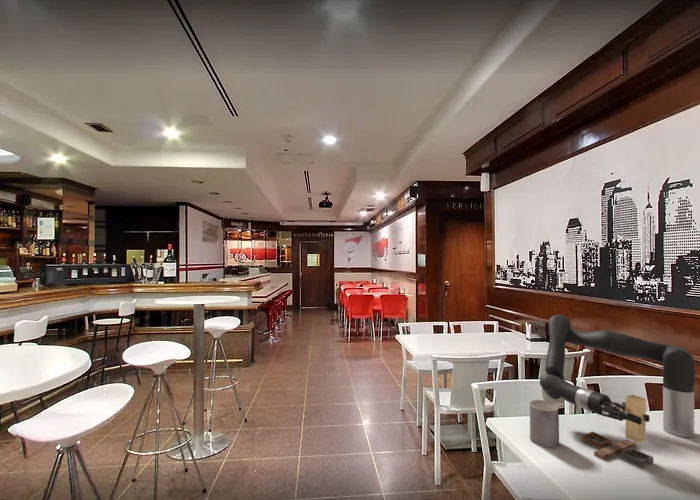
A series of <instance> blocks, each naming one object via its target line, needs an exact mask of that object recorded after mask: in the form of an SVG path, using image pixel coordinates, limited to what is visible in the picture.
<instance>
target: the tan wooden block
mask: <svg viewBox="0 0 700 500" xmlns="http://www.w3.org/2000/svg"><path fill="white" fill-rule="evenodd" d="M646 402H647V399H646V398H643V397H641V396H638V395H634V394H631V395H628V396H625V403H626V411H625V412H627V413H628V414H632V415H635V416H638V417H641V418H642V424H637V423H634V422H631V421H629V420H628V421H626V420H625V438H626V439H628V440H631V441H633V442H635V443H642V442H644V441H646V423H647V422H646V421H645V420H646V414H647V413H646V409H647V407H646V406H647V403H646Z"/></svg>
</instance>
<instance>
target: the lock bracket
mask: <svg viewBox="0 0 700 500" xmlns="http://www.w3.org/2000/svg"><path fill="white" fill-rule="evenodd" d="M581 441H582V442H584V443H586V444H589V445H591V446H593V447H596V448H597V450H594V451H593V453H594V454H593V455H594V457H596V458H599V459H600V460H602V461H604V460H607V459H609V458H612V457H614V456H617V455H619V458H620V459H622V460H624V461H626V462H629V463H631V464H633V465H635V466H637V467H639V468H641V469H643V468H646V467H647V466H650V465H652V464H654V456H652V455H649V454H647V453H645V452H642V451H640V450H637V449H635V448H636V447H637V442H636V441H633V440H631V439H628V438H626V439H623V440H621V441H618V442H615V443H613V444H612V439H611V438H609V437H607V436H604V435H602V434H599V433H597V432H595V431H590V432H587V433H585V434H582V435H581ZM619 453H620V454H619Z"/></svg>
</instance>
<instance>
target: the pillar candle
mask: <svg viewBox="0 0 700 500" xmlns="http://www.w3.org/2000/svg"><path fill="white" fill-rule="evenodd" d="M559 408H560V407H559V405H558V404H557V403H554V402H551V401H547V400H542V399H536V400H535V399H533V400H531V401H529V439H530V442H531V443H533V444H534V443H535V445H536V444H537V445H536V446H538V445H540V446H539V447H541V446H542V448H550V449H553V447H555V448H558V447H559V446H560V423H559V422H560V418H559V416H560V414H559V412H560V411H559V410H560V409H559ZM557 446H558V447H557ZM551 447H552V448H551Z"/></svg>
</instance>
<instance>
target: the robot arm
mask: <svg viewBox="0 0 700 500" xmlns="http://www.w3.org/2000/svg"><path fill="white" fill-rule="evenodd" d="M548 334H549V342H548V349H547V353H546V359H545V366H544V370H545V373H546V374H544V375H542V376H541V377H540V379H539V385H540V387H541V389H542V390H543V391H544V393H546V395H547V396H548V397H549V398H551V400H552V399H553V400H559V399H561V398H563V400H565V401H566V402H568V403H570V404H573V405H575V406H578V407H580V408H582V409H583V410H587V411H589V412H591V413H594V414H596V415H598V416H602V417H605V418H610V419H612V420H613V419H614V420H617V421H621V422H623V421H625V422H626V421H628V420H629V421H631V422H634V423H637V424H642V418H641V417H638V416H635V415H632V414H628V413H627V412H626V401H625V402H624V401H623V402H621V403H619V402H616V401H612V400H611V398H610V396H608V395H606V394H604V393H601V392H598V391H594V390H591V389H589V388H584V387H581V386H579V385H575V384H572V383H570V382H569V381H567V380H565V377H564V371H565V361H566V343H568V344H573V345H578V346H584V347H588V348H591V349H595V350H599V351H603V352H606V353H609V354H613V355H618V356H622V357H630V358H638V359H639V358H641V359H645V360H650V361H651V360H652V361H654V362H658V363H660V364H662V375H663V376H662V400H663V401H662V413H663V414H662V422H663V423H662V425H663V427H662V429H663V430H664V431H665V432H667V433H669V434H671V435H674V436H678V437H682V438H687V439H690V438H694V437H695V384H696V383H695V382H696V381H695V377H696V367H695V366H696V363H695V359H694V357H693V355H692V353H691V352H690V351H689V350H687V349H686V348H684V347H682V346H678V345H671V344H663V343H659V342H652V341H648V340H645V339H642V338H638V337H635V336H631V335H627V334H624V333H620V332H616V331H611V330H606V329H603V330H595V331H582V330H577V329H573V328H572V323H571V320H570V319H569V318H568V317H567V316H566V315H563V314H555V315H553V316H551V317H550V318H549V320H548ZM650 417H651V416H650V415H648V414H647V413H646V420H645V421H646V423H649V422H650Z"/></svg>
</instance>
